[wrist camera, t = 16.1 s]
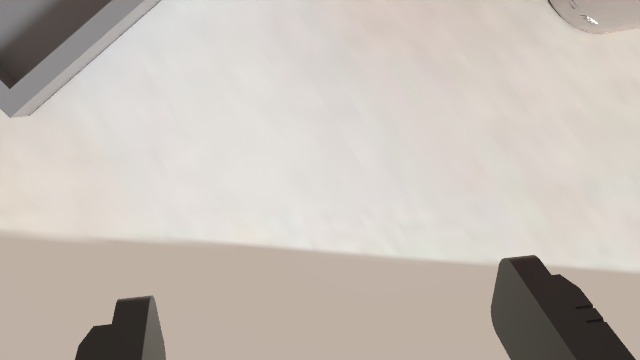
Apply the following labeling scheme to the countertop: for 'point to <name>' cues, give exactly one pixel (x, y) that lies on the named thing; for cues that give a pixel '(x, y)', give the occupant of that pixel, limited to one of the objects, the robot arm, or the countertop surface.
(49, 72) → the charcoal tray
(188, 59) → the countertop surface
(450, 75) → the countertop surface
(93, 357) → the robot arm
